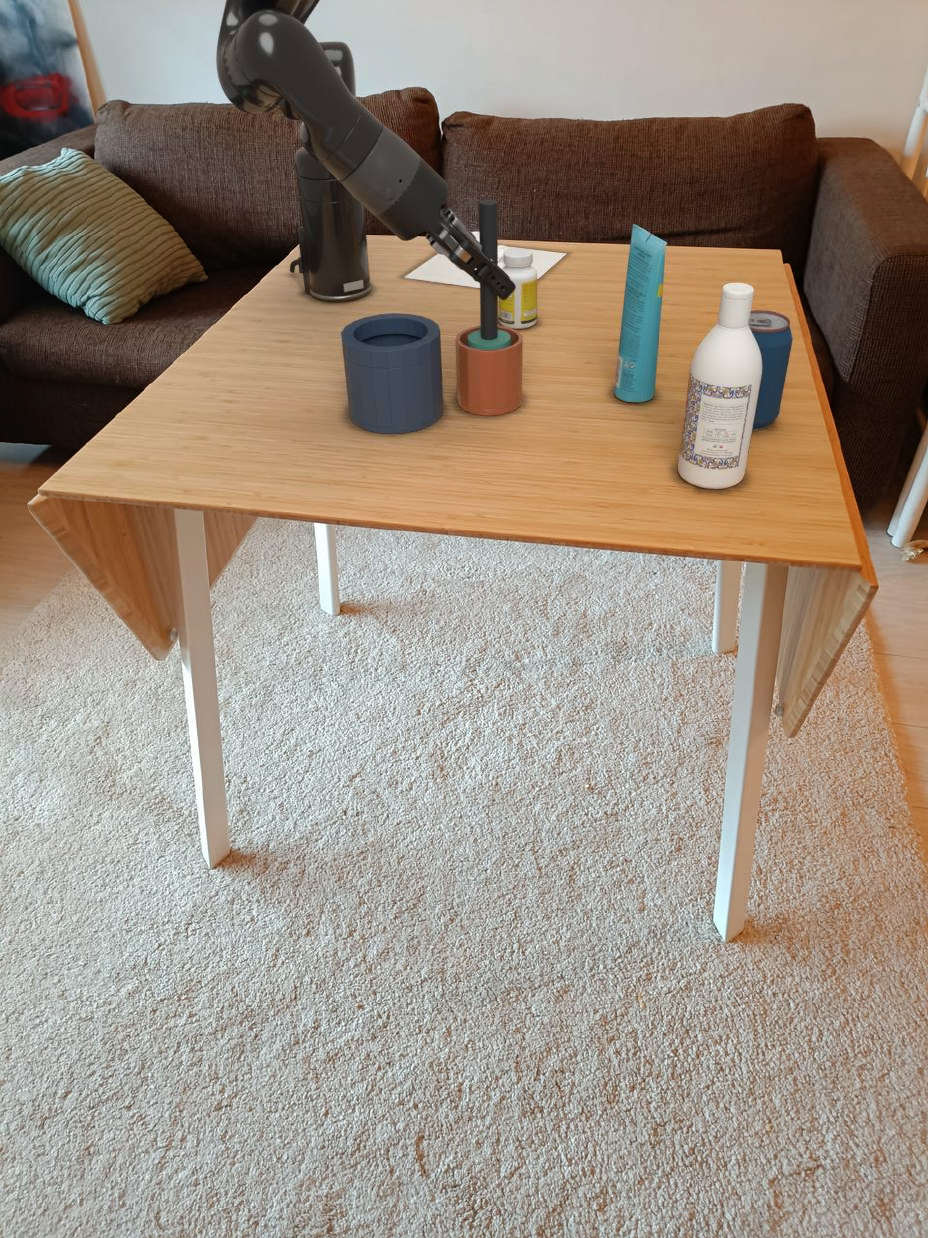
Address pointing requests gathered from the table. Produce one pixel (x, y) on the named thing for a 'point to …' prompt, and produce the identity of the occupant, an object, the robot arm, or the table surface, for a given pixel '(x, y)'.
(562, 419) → the table surface
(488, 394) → the crock
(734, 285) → the bath foam
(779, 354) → the soda can
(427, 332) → the jar
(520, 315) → the supplement bottle
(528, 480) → the table surface
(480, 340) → the sponge wand
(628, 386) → the tube
